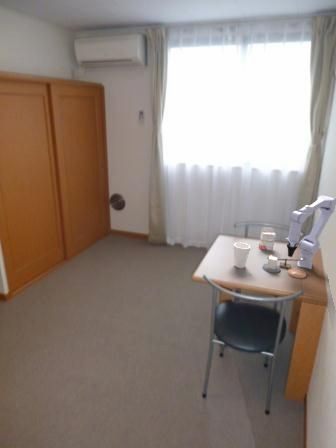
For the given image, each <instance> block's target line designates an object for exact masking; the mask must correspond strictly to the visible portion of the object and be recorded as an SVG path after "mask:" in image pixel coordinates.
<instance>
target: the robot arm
mask: <svg viewBox="0 0 336 448" xmlns="http://www.w3.org/2000/svg"><path fill="white" fill-rule="evenodd" d="M335 205H336V198H334V197H330V196H326V195H325V194H322V195H320V196H318V197H317V200H316V201H315V202H313V203H312V204H310V205H307V204H306V205H304V207H302V208H300V209H298V210H294V211H292V212H291V214H290V216H289V220H290V221H289V222H290V225H289V226H290V227H289V233H288V237H286V238H285V240H286V241H287V242H288V243H287V244H286V248H287V256H288V257H289V258H292V257H293V255H294V254H295V251H296V250H297V249H298V248H299V250H300V255H299V258H300V257H304V258H306V260H304V261H297V265H296V266H297V267H299V268H304V269H309V270H312V266H313V265H312V262H313V258H314V255H315V254H317V252H318V251H319V247H320V242H319V240H318V239H319V237H320V235H321V234H322V232H323V231H324V228H325V226H326V225H327V223H328V221H329V219H330V218H331V216H332V214H334V213H335V211H334V209H335ZM318 209H319V210H320V211H321V213H320V215H319V216H318V218H317V220H316V222H315V223H314V225H313V227H312V229H311V231H310V233H309V234H308V235H306V236H305V235H304V237H303V238H302V239H301V240H300V236H301V230H302V226H303V223H305V221H306V219H307V218H308V217H310V216H312V215H313V214H314V212H315V211H317V210H318ZM333 212H334V213H333ZM297 244H298V246H297Z"/></svg>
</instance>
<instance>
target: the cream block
mask: <svg viewBox="0 0 336 448" xmlns="http://www.w3.org/2000/svg"><path fill="white" fill-rule="evenodd" d="M277 259H279V258H278V257H276V256H274V255H273V256H269V260H268V259H267V261H268V262H267V264H268V266H267V268H269V269H274V270H275V269H276V265H278V263H277V262H278V260H277Z"/></svg>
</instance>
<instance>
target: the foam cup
mask: <svg viewBox="0 0 336 448" xmlns="http://www.w3.org/2000/svg"><path fill="white" fill-rule="evenodd" d="M250 251H251V245H250V244H247V243H246V242H235V243H234V244H233V264H234V267H236V268H239V269H244V268H245V267H246V264H247V260H248V258H249V254H250Z"/></svg>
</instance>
